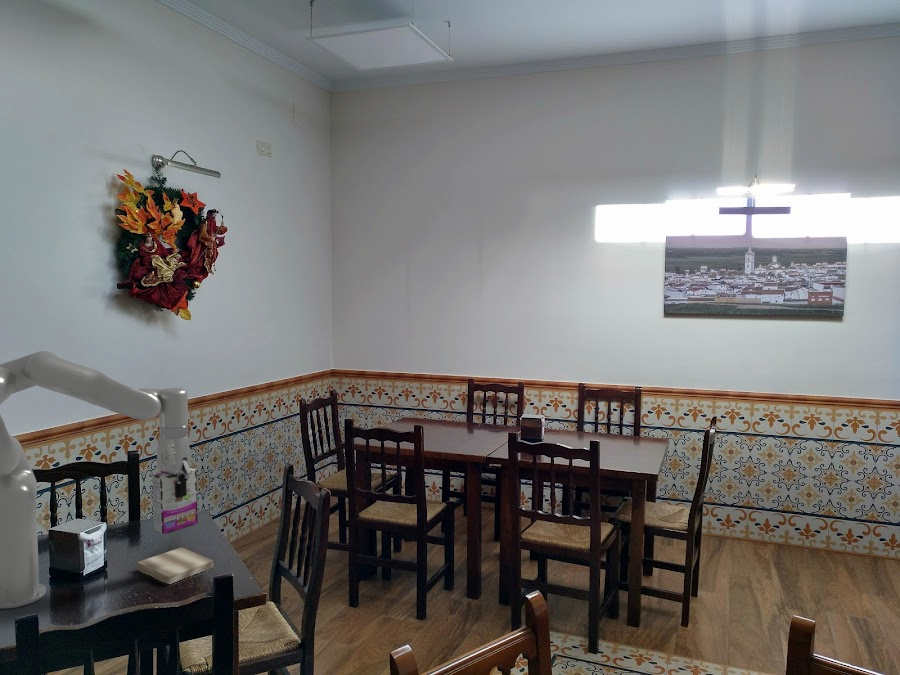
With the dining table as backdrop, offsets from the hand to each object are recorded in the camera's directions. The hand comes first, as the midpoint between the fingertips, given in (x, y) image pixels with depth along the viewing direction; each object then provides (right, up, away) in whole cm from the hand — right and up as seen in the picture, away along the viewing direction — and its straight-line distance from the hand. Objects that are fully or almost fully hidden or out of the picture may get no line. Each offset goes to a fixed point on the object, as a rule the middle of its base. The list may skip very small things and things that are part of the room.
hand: (175, 493), depth 194 cm
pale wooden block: (-1, -23, +2) cm, 23 cm away
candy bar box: (0, -10, +1) cm, 10 cm away
